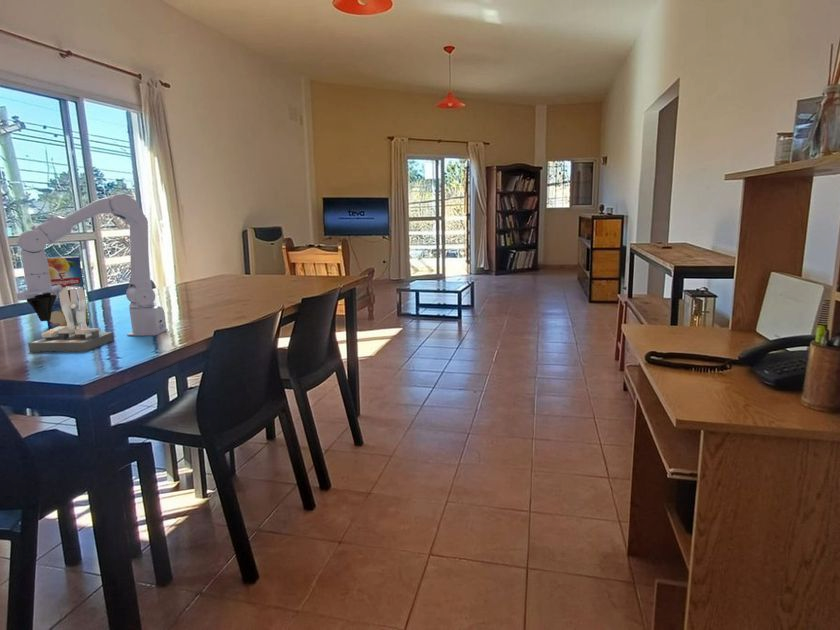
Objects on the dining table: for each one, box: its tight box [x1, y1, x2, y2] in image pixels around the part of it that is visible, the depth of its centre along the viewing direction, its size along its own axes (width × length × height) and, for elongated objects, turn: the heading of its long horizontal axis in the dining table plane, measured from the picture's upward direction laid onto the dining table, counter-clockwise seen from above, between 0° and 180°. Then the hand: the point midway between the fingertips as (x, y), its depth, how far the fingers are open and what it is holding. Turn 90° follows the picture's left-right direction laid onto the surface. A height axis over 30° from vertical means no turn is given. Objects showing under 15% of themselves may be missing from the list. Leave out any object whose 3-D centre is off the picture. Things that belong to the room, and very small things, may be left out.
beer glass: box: [59, 286, 89, 330], centre depth 168 cm, size 7×7×15 cm
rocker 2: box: [75, 327, 101, 334], centre depth 152 cm, size 3×7×1 cm, turn 178°
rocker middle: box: [58, 329, 77, 334], centre depth 152 cm, size 3×7×1 cm, turn 178°
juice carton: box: [46, 255, 91, 330], centre depth 178 cm, size 12×8×24 cm, turn 125°
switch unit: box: [27, 330, 115, 353], centre depth 152 cm, size 16×13×4 cm
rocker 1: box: [40, 326, 68, 338], centre depth 152 cm, size 3×7×1 cm, turn 178°
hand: (45, 320), depth 148 cm, fingers closed
